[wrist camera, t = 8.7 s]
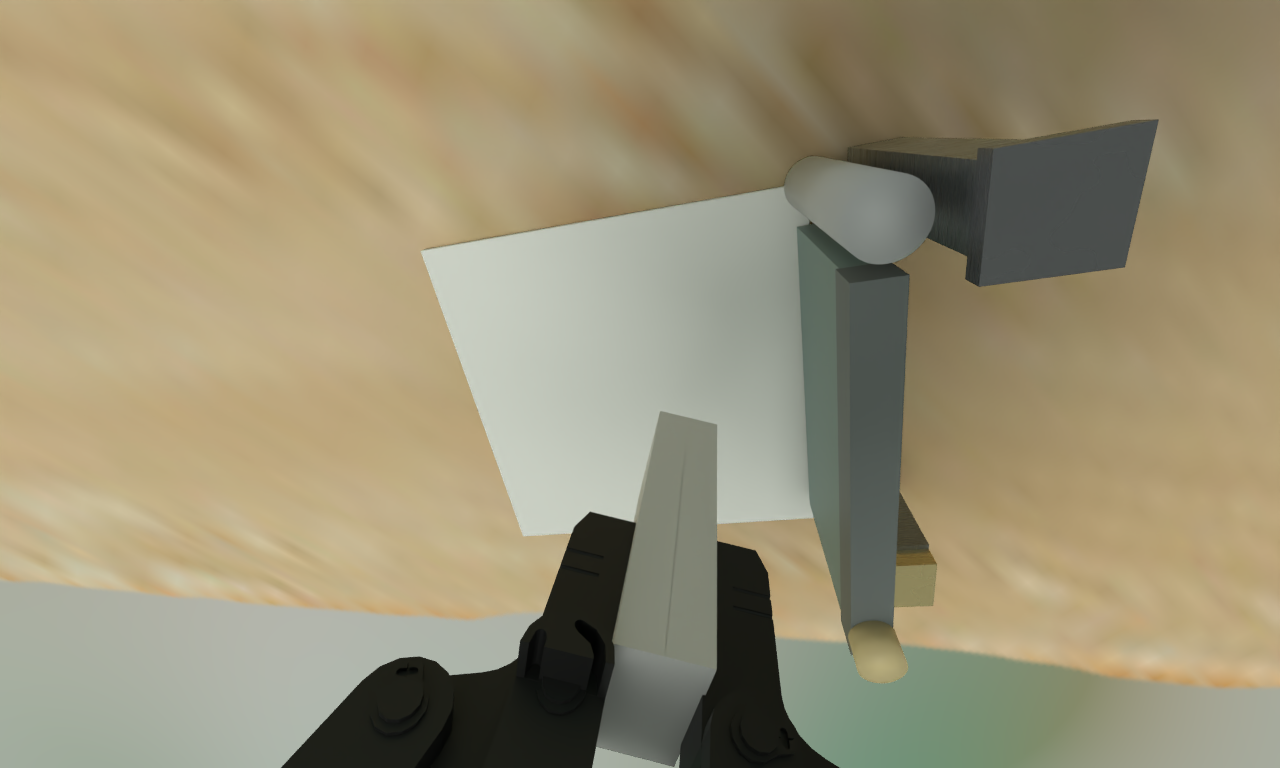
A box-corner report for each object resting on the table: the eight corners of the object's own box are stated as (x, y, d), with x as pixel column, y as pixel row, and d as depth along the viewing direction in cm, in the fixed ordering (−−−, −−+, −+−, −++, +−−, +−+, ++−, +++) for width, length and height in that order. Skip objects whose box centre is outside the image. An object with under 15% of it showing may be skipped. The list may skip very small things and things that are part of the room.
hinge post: (911, 126, 19) (1158, 119, 9) (908, 198, 20) (1125, 267, 10) (839, 140, 20) (994, 148, 9) (840, 209, 21) (978, 286, 10)
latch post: (876, 449, 25) (937, 560, 19) (875, 490, 26) (932, 609, 20) (838, 452, 26) (886, 562, 19) (839, 493, 27) (884, 611, 20)
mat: (806, 182, 20) (808, 183, 20) (818, 512, 27) (819, 517, 27) (424, 249, 23) (420, 251, 23) (525, 531, 30) (523, 536, 30)
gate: (782, 161, 19) (848, 184, 11) (837, 151, 19) (953, 166, 10) (801, 504, 26) (850, 687, 17) (842, 501, 26) (913, 686, 17)
